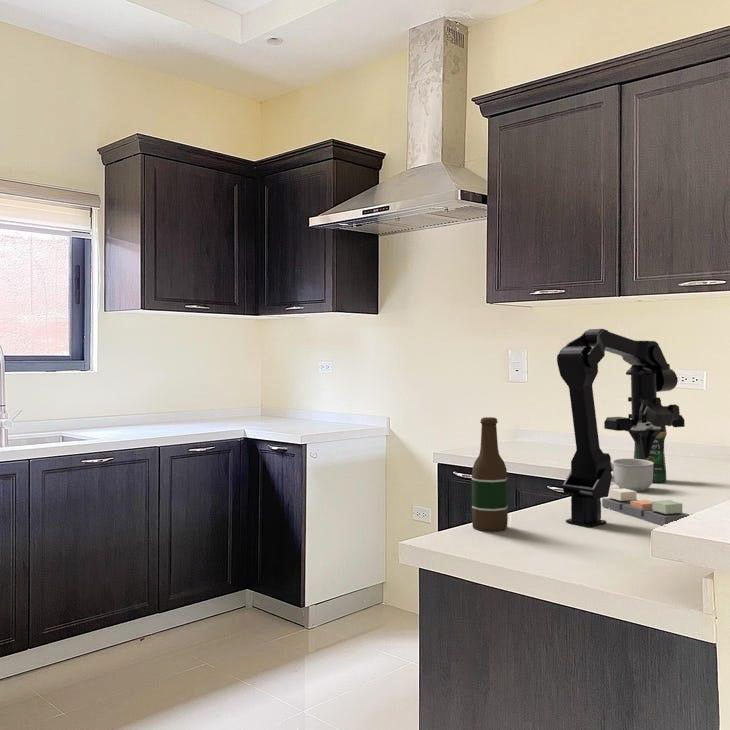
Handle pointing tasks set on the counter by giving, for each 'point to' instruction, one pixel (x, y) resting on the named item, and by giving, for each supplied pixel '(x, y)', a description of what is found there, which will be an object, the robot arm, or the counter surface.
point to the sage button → (667, 506)
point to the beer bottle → (489, 483)
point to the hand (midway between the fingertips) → (645, 457)
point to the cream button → (623, 494)
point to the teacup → (632, 473)
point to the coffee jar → (656, 457)
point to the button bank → (642, 512)
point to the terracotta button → (641, 504)
